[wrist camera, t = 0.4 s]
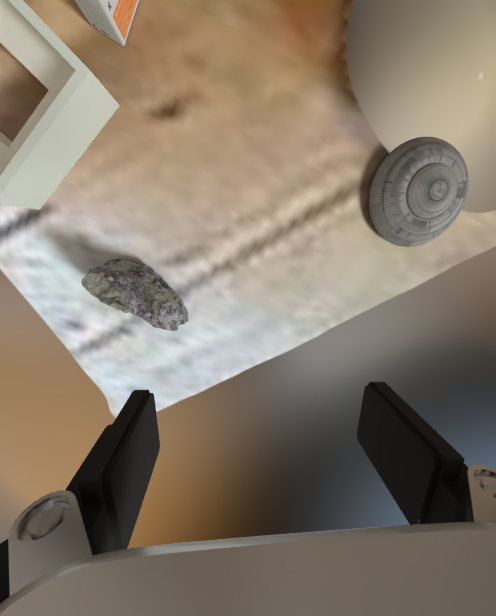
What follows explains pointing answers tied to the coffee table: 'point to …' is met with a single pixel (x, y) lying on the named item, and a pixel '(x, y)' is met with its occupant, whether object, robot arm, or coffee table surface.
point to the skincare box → (110, 16)
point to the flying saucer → (418, 191)
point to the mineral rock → (137, 293)
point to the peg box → (47, 110)
